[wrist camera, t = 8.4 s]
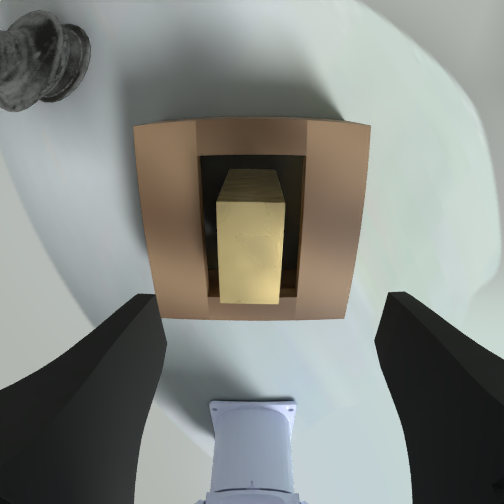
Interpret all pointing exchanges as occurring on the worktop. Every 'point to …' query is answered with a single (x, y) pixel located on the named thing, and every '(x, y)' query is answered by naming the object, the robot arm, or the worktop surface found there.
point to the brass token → (250, 236)
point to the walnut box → (311, 219)
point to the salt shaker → (40, 60)
